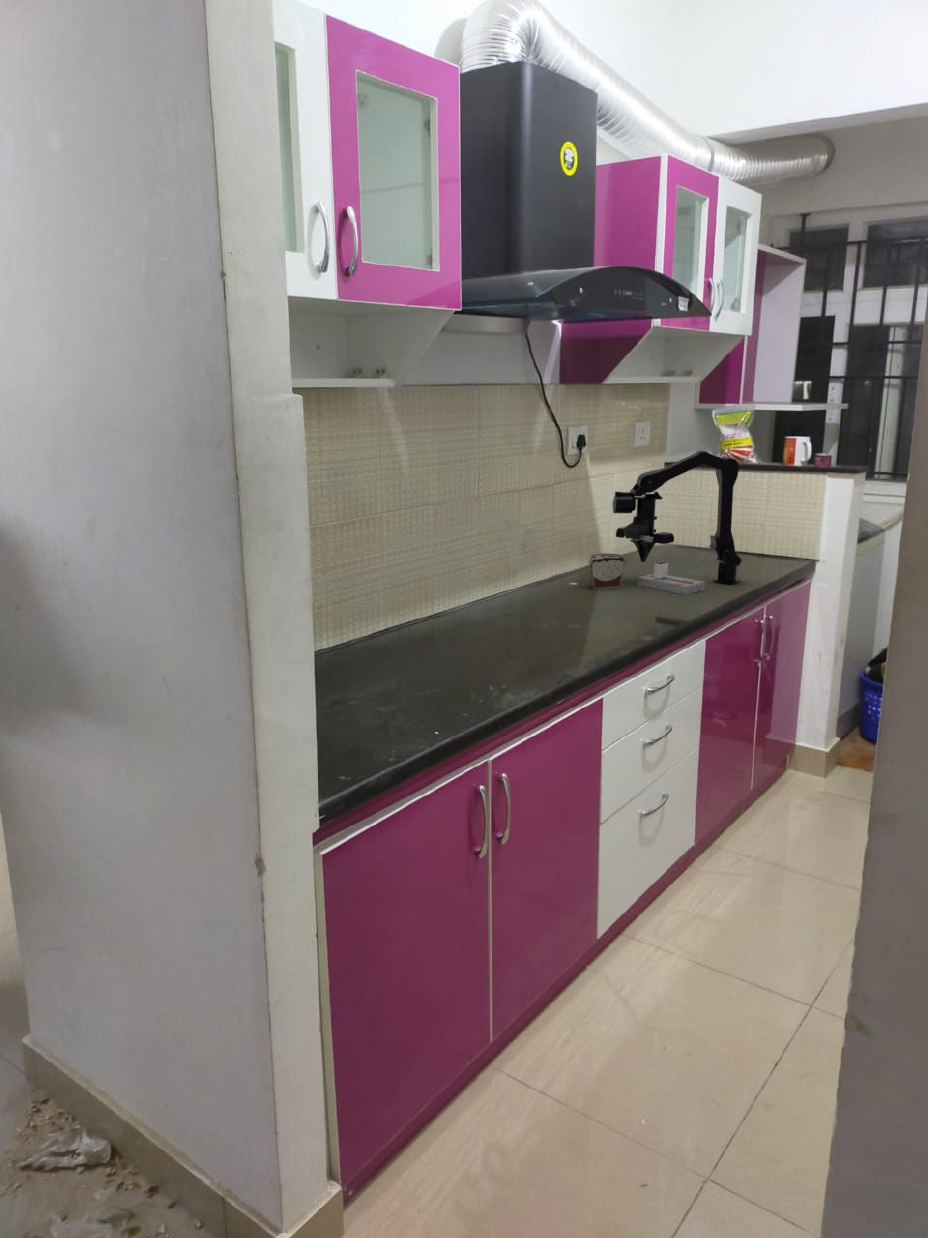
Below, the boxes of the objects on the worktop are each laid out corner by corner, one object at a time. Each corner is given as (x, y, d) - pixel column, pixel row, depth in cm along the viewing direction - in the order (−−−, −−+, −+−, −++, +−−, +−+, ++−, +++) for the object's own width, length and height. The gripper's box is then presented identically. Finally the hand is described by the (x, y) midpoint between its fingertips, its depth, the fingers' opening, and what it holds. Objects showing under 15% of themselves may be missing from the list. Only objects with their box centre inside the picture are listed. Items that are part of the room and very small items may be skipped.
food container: (615, 582, 295) (616, 551, 292) (624, 586, 289) (626, 555, 286) (580, 585, 291) (581, 554, 288) (589, 589, 285) (590, 557, 283)
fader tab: (660, 575, 293) (661, 559, 291) (667, 576, 291) (668, 560, 290) (653, 577, 290) (654, 561, 288) (660, 578, 288) (661, 562, 287)
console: (655, 580, 298) (656, 572, 297) (704, 589, 285) (705, 581, 285) (637, 585, 291) (638, 577, 290) (686, 594, 279) (687, 586, 278)
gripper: (606, 512, 291) (604, 561, 295) (655, 519, 278) (653, 569, 282) (627, 509, 299) (624, 556, 303) (676, 515, 286) (673, 564, 290)
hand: (643, 561), depth 294 cm, fingers closed
